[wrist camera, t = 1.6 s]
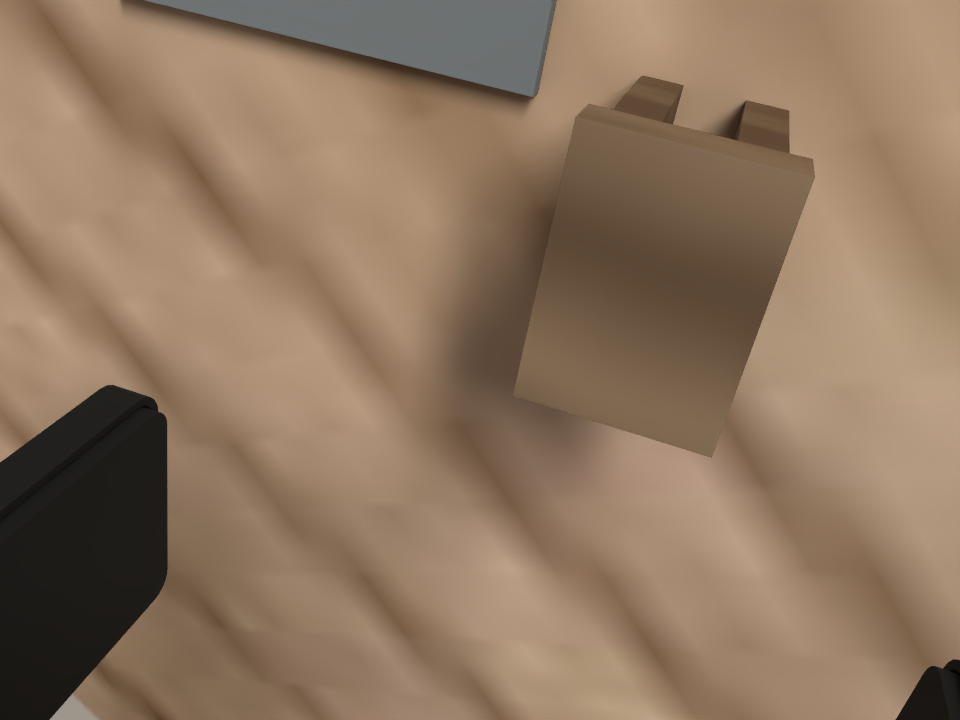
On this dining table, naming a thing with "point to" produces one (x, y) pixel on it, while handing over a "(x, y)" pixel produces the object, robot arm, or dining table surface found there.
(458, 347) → the dining table surface
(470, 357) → the dining table surface
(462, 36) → the slate mat
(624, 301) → the walnut stool
